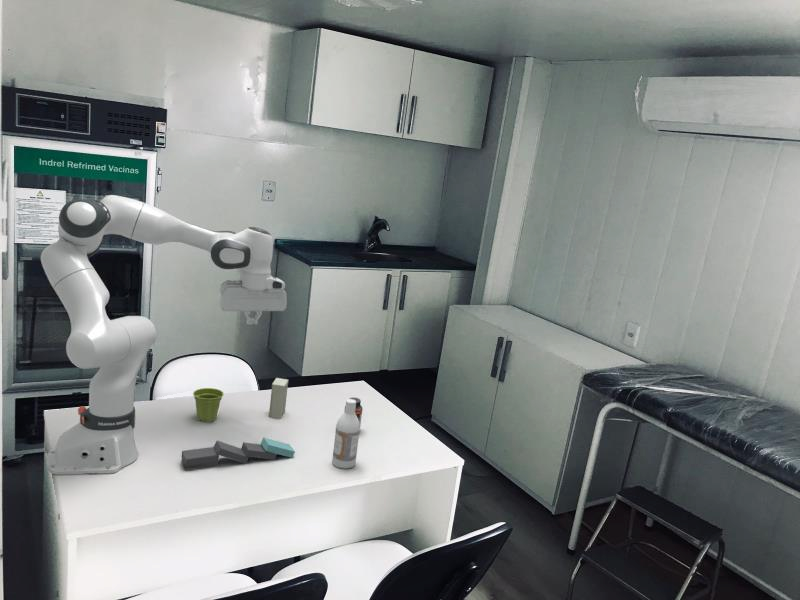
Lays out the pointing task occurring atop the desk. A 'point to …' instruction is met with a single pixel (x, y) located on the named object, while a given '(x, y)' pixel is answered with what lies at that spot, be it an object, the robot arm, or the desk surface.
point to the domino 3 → (230, 452)
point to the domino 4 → (257, 451)
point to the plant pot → (207, 403)
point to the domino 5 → (277, 447)
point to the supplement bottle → (357, 408)
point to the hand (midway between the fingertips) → (252, 324)
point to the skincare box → (278, 398)
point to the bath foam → (346, 437)
